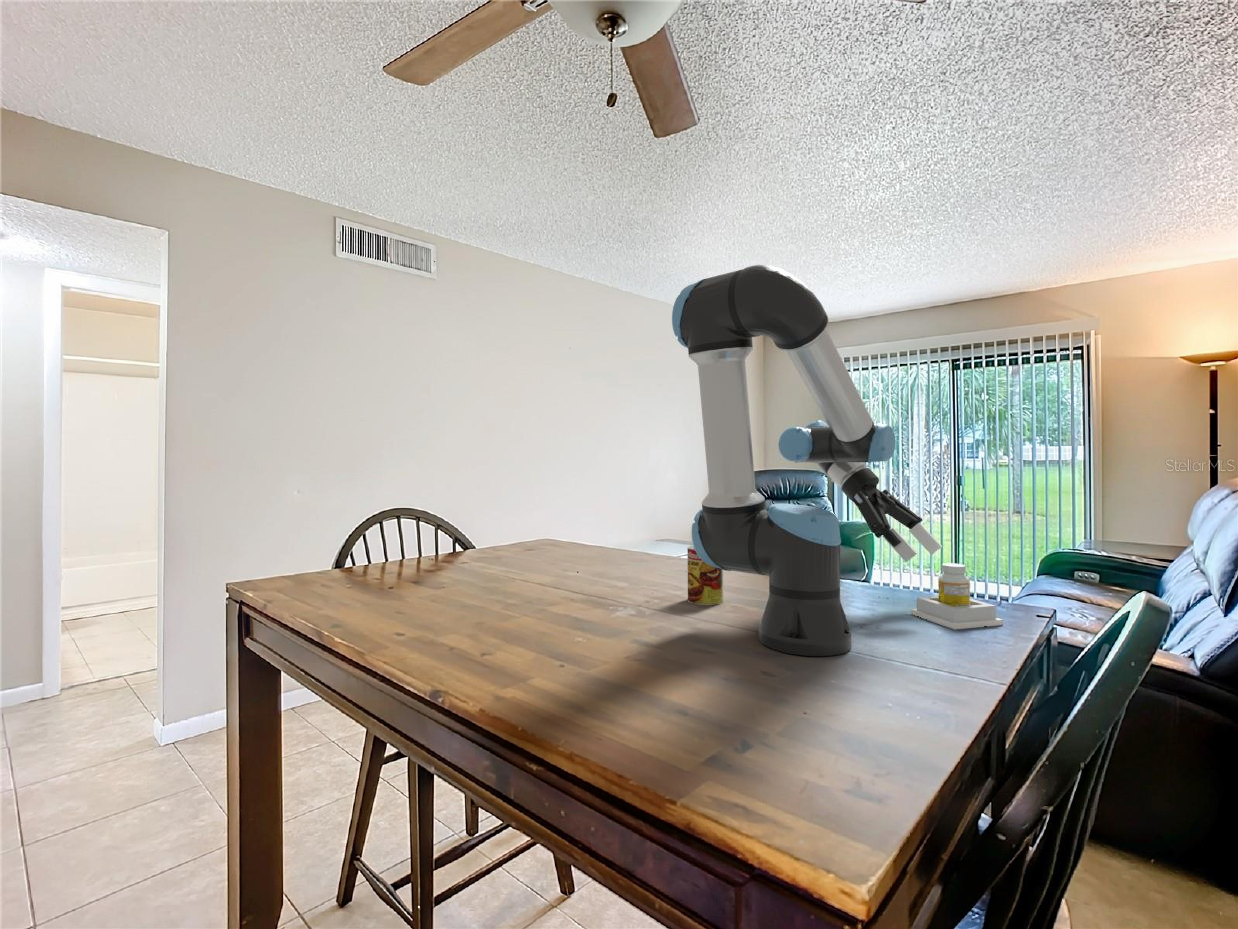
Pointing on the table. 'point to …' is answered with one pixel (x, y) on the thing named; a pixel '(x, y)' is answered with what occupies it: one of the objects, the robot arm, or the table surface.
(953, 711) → the table surface
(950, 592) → the supplement bottle
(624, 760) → the table surface
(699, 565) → the canned food
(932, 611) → the socket collar
